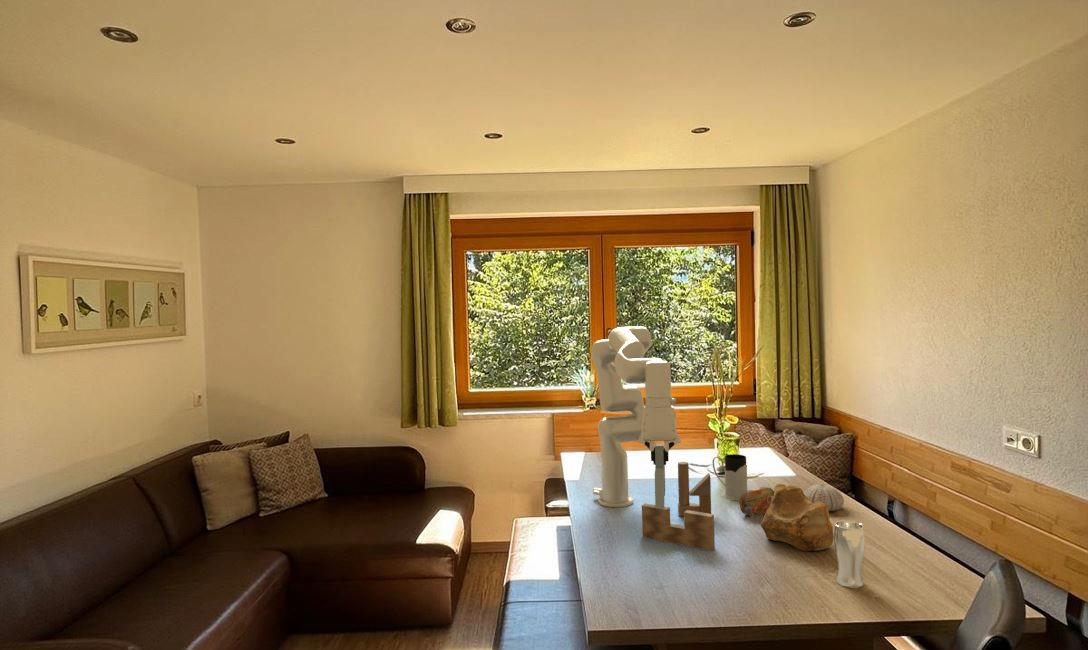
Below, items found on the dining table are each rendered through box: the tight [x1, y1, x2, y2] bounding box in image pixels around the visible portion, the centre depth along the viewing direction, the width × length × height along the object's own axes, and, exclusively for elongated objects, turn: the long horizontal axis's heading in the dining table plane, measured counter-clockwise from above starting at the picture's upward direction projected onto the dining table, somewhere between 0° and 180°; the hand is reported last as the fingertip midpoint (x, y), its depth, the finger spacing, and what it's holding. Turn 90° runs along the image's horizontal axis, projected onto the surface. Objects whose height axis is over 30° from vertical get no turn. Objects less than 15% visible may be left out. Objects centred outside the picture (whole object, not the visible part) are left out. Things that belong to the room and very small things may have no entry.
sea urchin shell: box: [803, 483, 845, 512], centre depth 219 cm, size 13×14×8 cm
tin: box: [739, 486, 774, 517], centre depth 215 cm, size 15×3×8 cm, turn 117°
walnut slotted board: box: [641, 503, 716, 551], centre depth 191 cm, size 22×2×10 cm, turn 57°
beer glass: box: [833, 519, 866, 589], centre depth 160 cm, size 7×7×15 cm
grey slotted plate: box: [654, 443, 666, 509], centre depth 188 cm, size 18×2×16 cm, turn 168°
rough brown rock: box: [760, 483, 834, 553], centre depth 189 cm, size 23×17×15 cm
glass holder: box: [712, 453, 748, 502], centre depth 235 cm, size 9×14×15 cm, turn 41°
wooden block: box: [677, 461, 712, 517], centre depth 215 cm, size 4×11×18 cm, turn 83°
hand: (659, 463), depth 188 cm, fingers closed on grey slotted plate, 2 cm apart
